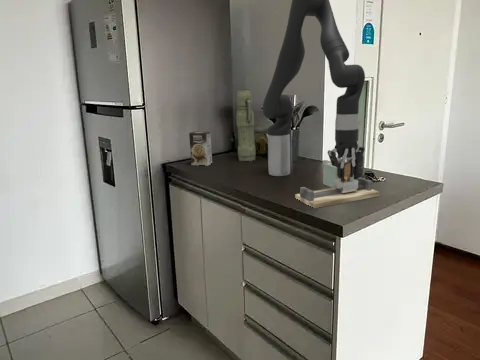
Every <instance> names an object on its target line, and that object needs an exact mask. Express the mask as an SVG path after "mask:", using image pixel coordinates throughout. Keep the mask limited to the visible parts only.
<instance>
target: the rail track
mask: <svg viewBox="0 0 480 360" xmlns="http://www.w3.org/2000/svg"><path fill="white" fill-rule="evenodd" d="M356 180H358V188H357V191H352V192H346V193H340V189H334V188H331V187H329V188H322V189H318V190H313V189H310V188H308V187H305V186H302V187H300V188H299V189H300V190H299V193H295V194H294V196H295V197H294V198H296V199H295V200H297V199H298V200H297V201H299V200H300V201H299V202H301V203H303V204H305V205H307V206H308V205H309V207H310V206H311V207H310V208H312V207H313V209H318V208H319V207H320V208H324V206H325V207H329V206H335V205H340V204H345V203H350V202H355V201H360V200H366V199H371V198H376V197H380V191H378V190H376V189H373V180H370V179H368V178H365V177H360V178H356Z"/></svg>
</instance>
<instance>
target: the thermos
mask: <svg viewBox="0 0 480 360" xmlns="http://www.w3.org/2000/svg"><path fill="white" fill-rule="evenodd" d="M236 107H237V108H236V109H237V112H236V116H235V117H236V127H237V138H238V139H237V143H238V145H237V157H238V161H239V162H242V161H249V162H254V161H256V154H257V153H256V145H255V132H254V131H255V130H254V128H255V113H254V110H253V109H254V108H253V93H252V91H251V90H250V89H249V88H247V89H244V88H243V89H242V88H241V89H239V90H237V94H236ZM253 160H254V161H253Z"/></svg>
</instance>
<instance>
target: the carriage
mask: <svg viewBox="0 0 480 360" xmlns="http://www.w3.org/2000/svg"><path fill="white" fill-rule="evenodd" d="M343 168H344V178H343V179H340V178H336V179H333V187H334V189H340V193H346V192H352V191H357V188H358V180H357V179H356V178H354V179H353V178H350V174H351V162H346V161H345V162H344V167H343Z"/></svg>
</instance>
